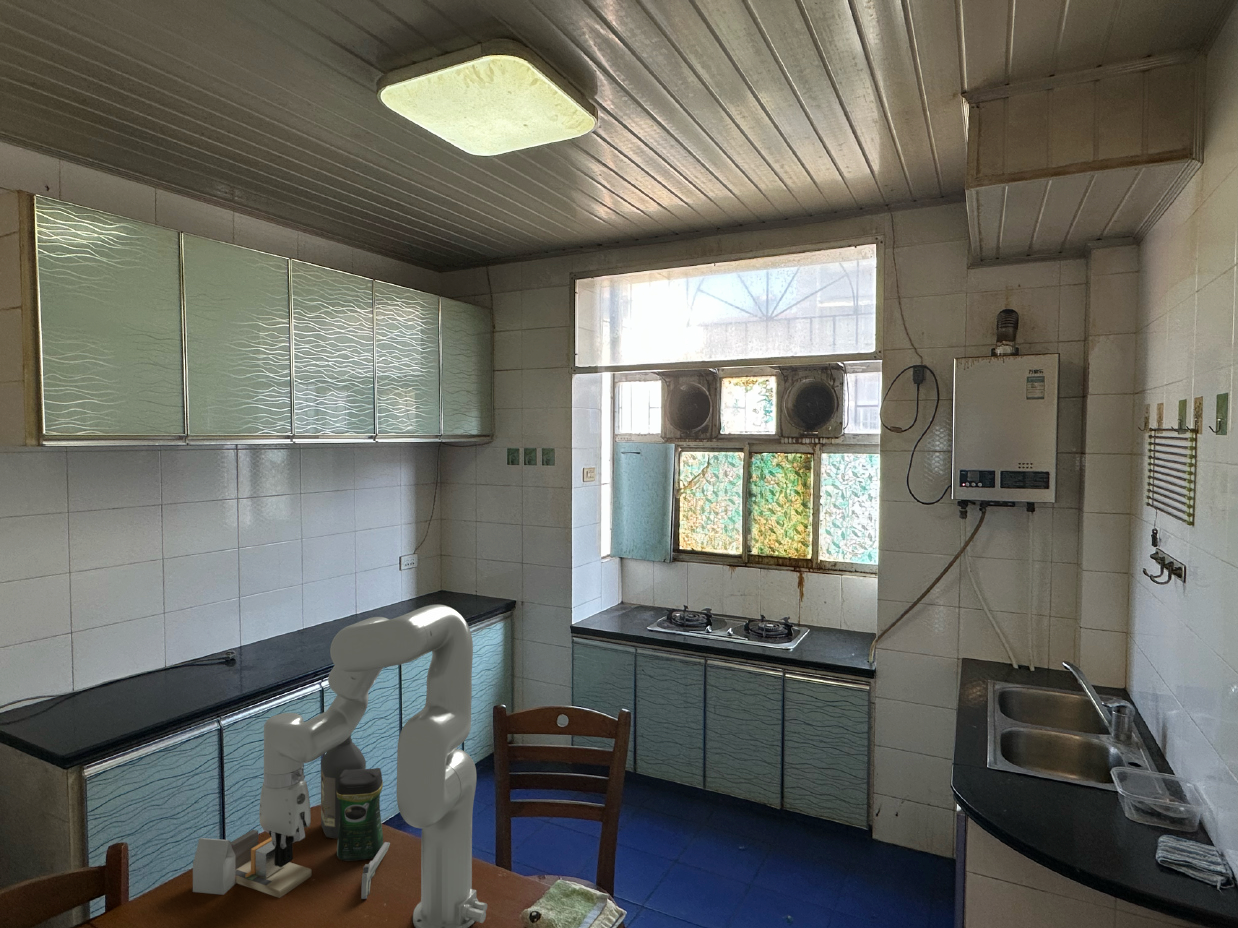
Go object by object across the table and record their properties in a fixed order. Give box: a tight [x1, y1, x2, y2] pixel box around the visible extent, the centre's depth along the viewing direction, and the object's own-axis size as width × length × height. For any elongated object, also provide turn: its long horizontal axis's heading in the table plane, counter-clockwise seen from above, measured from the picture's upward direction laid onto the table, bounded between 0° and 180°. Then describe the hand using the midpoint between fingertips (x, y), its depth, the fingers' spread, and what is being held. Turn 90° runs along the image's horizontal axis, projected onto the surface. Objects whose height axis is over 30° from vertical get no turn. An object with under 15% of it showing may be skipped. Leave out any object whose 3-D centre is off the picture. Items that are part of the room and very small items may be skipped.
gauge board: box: [230, 829, 312, 899], centre depth 148 cm, size 16×8×7 cm, turn 67°
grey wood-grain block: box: [256, 841, 285, 878], centre depth 148 cm, size 3×5×5 cm, turn 157°
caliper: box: [360, 841, 391, 900], centre depth 151 cm, size 20×1×6 cm, turn 5°
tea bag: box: [192, 837, 236, 895], centre depth 145 cm, size 4×7×10 cm, turn 83°
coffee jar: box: [336, 767, 384, 862], centre depth 158 cm, size 10×8×19 cm
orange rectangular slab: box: [245, 837, 272, 877], centre depth 148 cm, size 1×6×5 cm, turn 156°
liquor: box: [320, 734, 367, 840], centre depth 168 cm, size 9×9×30 cm
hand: (283, 862), depth 147 cm, fingers closed
